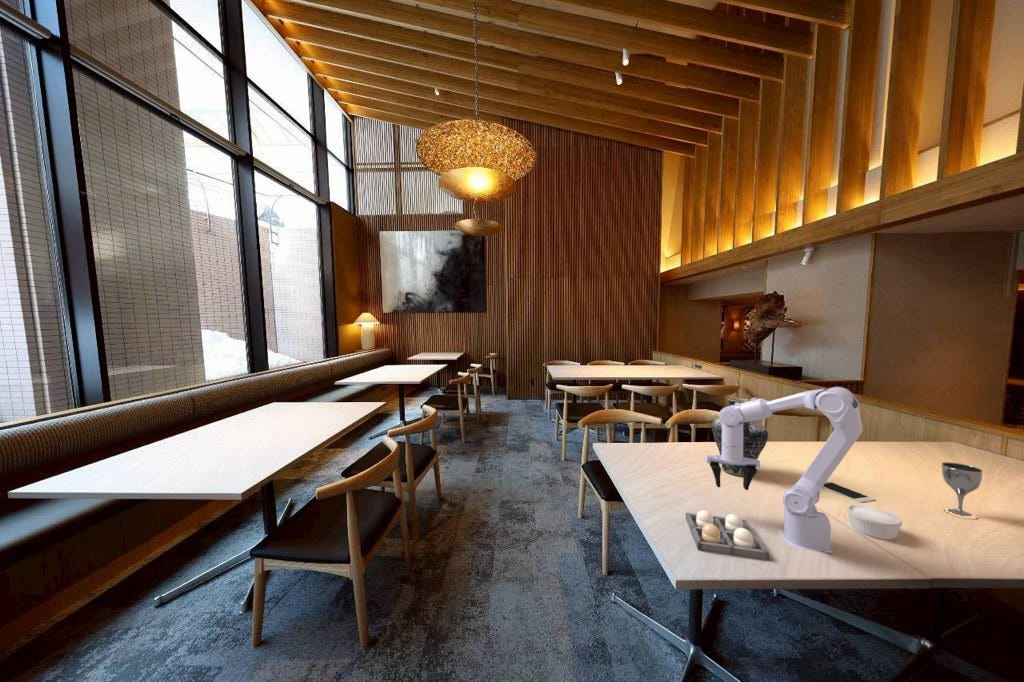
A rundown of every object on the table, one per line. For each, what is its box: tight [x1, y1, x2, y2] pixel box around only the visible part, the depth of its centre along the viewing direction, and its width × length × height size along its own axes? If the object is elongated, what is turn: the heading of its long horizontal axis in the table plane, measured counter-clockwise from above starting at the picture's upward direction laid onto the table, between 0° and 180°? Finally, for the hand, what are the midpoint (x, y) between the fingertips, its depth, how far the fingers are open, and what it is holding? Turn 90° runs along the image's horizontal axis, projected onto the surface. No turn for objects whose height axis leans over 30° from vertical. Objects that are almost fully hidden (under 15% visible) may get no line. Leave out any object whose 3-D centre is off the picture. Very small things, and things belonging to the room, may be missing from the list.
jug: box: [711, 397, 769, 477], centre depth 146 cm, size 21×19×30 cm
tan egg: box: [702, 524, 721, 544], centre depth 98 cm, size 4×4×5 cm
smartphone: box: [822, 480, 877, 504], centre depth 129 cm, size 7×16×1 cm, turn 13°
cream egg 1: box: [696, 509, 713, 527], centre depth 105 cm, size 4×4×5 cm
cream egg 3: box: [734, 528, 753, 549], centre depth 95 cm, size 4×4×5 cm
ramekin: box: [846, 504, 903, 541], centre depth 104 cm, size 11×11×5 cm
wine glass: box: [941, 461, 983, 516], centre depth 113 cm, size 8×8×15 cm
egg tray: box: [685, 512, 770, 561], centre depth 100 cm, size 16×16×2 cm
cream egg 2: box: [725, 513, 743, 531], centre depth 103 cm, size 4×4×5 cm
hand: (731, 487), depth 112 cm, fingers open, 7 cm apart
